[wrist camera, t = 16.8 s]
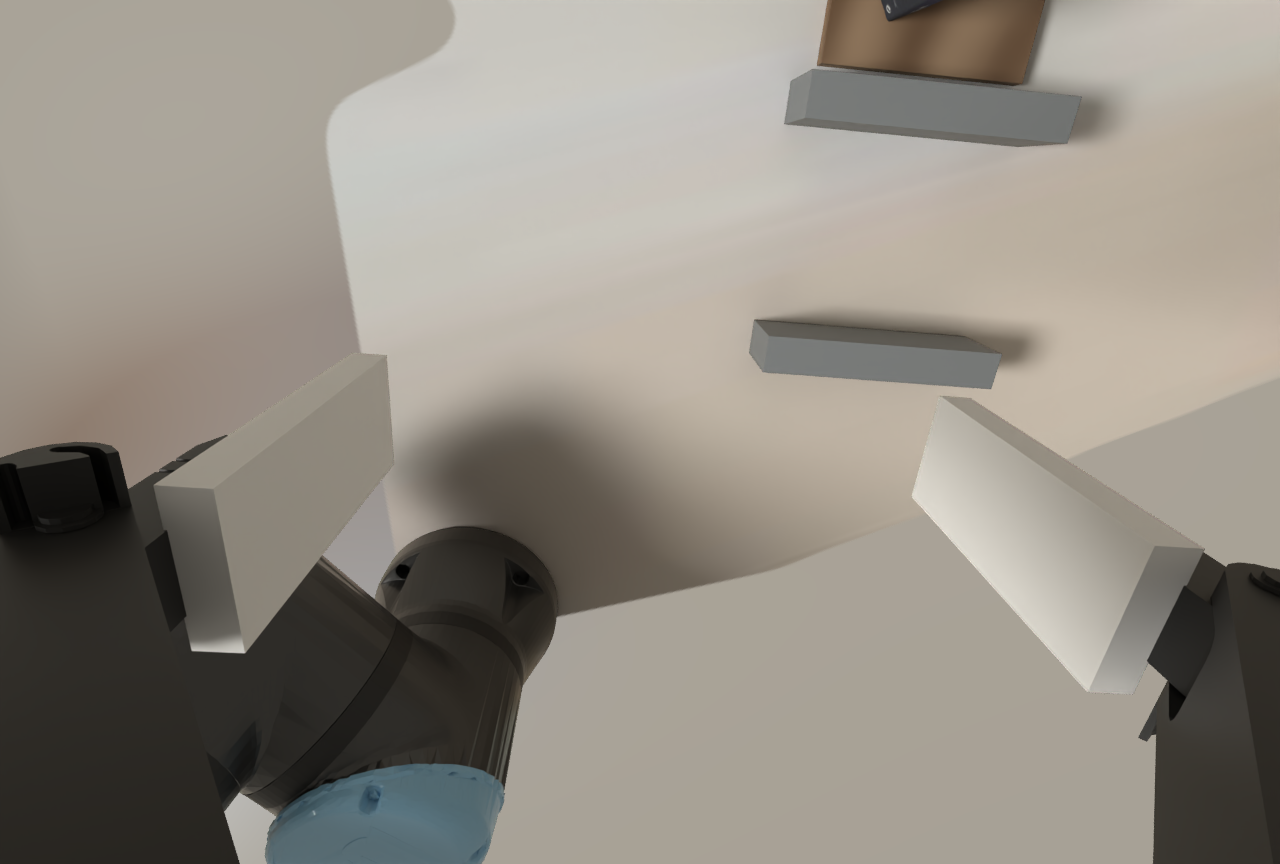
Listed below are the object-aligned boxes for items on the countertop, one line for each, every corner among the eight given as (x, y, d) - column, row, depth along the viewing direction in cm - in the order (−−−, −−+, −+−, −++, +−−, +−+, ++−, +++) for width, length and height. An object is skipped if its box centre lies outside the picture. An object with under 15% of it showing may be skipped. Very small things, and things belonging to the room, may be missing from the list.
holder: (749, 352, 47) (763, 372, 43) (790, 81, 40) (812, 69, 36) (955, 368, 48) (991, 389, 43) (1030, 105, 41) (1081, 96, 37)
